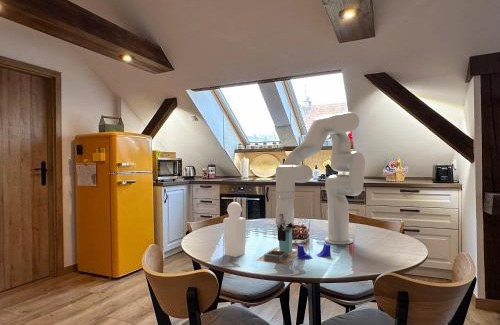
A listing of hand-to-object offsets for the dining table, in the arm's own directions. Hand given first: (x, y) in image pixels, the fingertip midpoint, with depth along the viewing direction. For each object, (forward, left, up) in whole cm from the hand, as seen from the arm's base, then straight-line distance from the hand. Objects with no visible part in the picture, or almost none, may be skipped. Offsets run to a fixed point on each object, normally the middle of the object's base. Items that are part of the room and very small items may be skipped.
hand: (285, 238), depth 129 cm
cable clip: (+3, +12, -7) cm, 15 cm away
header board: (+6, 0, -7) cm, 9 cm away
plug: (0, 0, -5) cm, 5 cm away
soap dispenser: (+12, -17, -7) cm, 22 cm away
